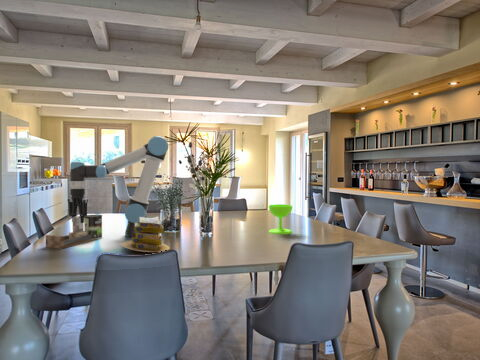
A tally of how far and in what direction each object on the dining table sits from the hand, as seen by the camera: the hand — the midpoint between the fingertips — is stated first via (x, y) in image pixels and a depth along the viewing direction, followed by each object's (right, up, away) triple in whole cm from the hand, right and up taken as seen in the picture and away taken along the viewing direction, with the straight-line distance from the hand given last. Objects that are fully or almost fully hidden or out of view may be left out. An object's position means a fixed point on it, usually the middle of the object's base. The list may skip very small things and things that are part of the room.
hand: (78, 228), depth 200 cm
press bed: (-2, -8, -5) cm, 10 cm away
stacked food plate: (+45, -9, -17) cm, 49 cm away
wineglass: (+122, -7, +32) cm, 127 cm away
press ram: (0, -6, +1) cm, 6 cm away
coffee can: (+4, -8, +11) cm, 14 cm away
